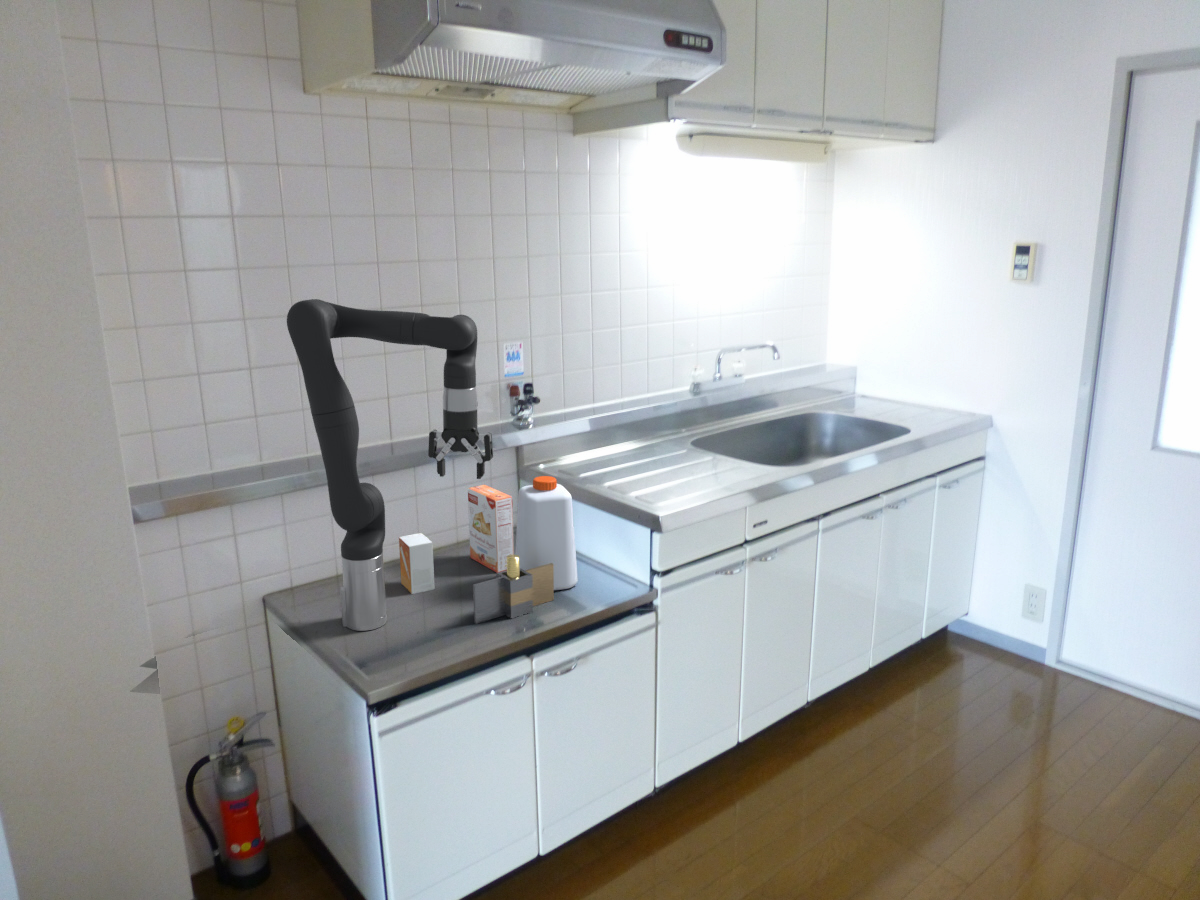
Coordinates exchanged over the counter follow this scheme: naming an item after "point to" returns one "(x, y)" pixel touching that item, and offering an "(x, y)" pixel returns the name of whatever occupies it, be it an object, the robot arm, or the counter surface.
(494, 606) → the hinge
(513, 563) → the hinge pin
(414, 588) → the small box
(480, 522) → the cracker box
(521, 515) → the plastic bottle
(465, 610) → the counter surface
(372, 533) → the robot arm
